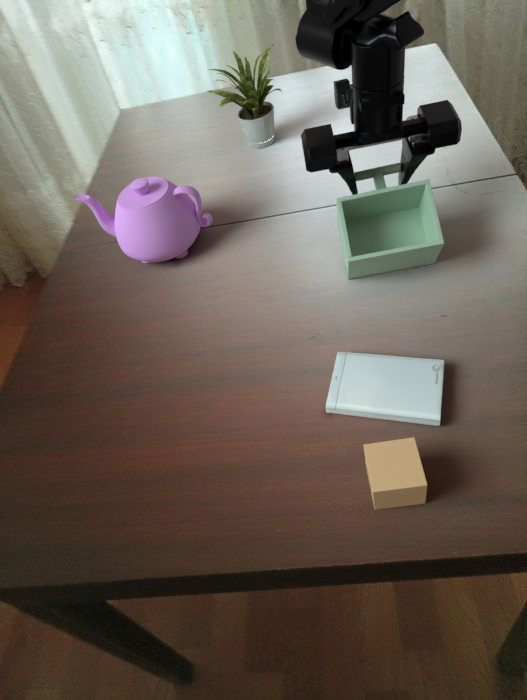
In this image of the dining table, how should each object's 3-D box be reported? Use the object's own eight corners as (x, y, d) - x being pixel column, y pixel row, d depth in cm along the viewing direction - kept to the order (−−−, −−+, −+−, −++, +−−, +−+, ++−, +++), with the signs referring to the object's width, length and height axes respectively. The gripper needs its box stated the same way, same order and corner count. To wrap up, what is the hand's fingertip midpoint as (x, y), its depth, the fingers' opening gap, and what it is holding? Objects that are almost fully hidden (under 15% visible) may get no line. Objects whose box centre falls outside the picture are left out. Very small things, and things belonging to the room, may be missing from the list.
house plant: (257, 115, 106) (238, 31, 94) (311, 123, 99) (298, 33, 87) (216, 151, 100) (190, 66, 88) (270, 162, 93) (251, 72, 81)
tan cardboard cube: (413, 457, 52) (414, 436, 49) (425, 503, 49) (427, 485, 46) (365, 464, 53) (363, 444, 49) (374, 510, 50) (372, 492, 46)
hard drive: (445, 358, 57) (337, 349, 61) (440, 420, 52) (324, 406, 56) (443, 367, 58) (338, 357, 62) (439, 428, 54) (326, 413, 58)
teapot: (98, 281, 82) (59, 222, 73) (116, 227, 91) (84, 168, 81) (214, 265, 78) (189, 200, 69) (222, 210, 87) (201, 146, 78)
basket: (333, 199, 73) (331, 173, 66) (416, 181, 71) (423, 153, 65) (347, 279, 70) (348, 261, 63) (434, 263, 69) (444, 243, 62)
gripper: (444, 28, 59) (432, 146, 72) (290, 62, 62) (305, 170, 74) (471, 73, 53) (454, 194, 65) (298, 109, 55) (313, 219, 68)
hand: (378, 192), depth 68 cm, fingers closed on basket, 6 cm apart
